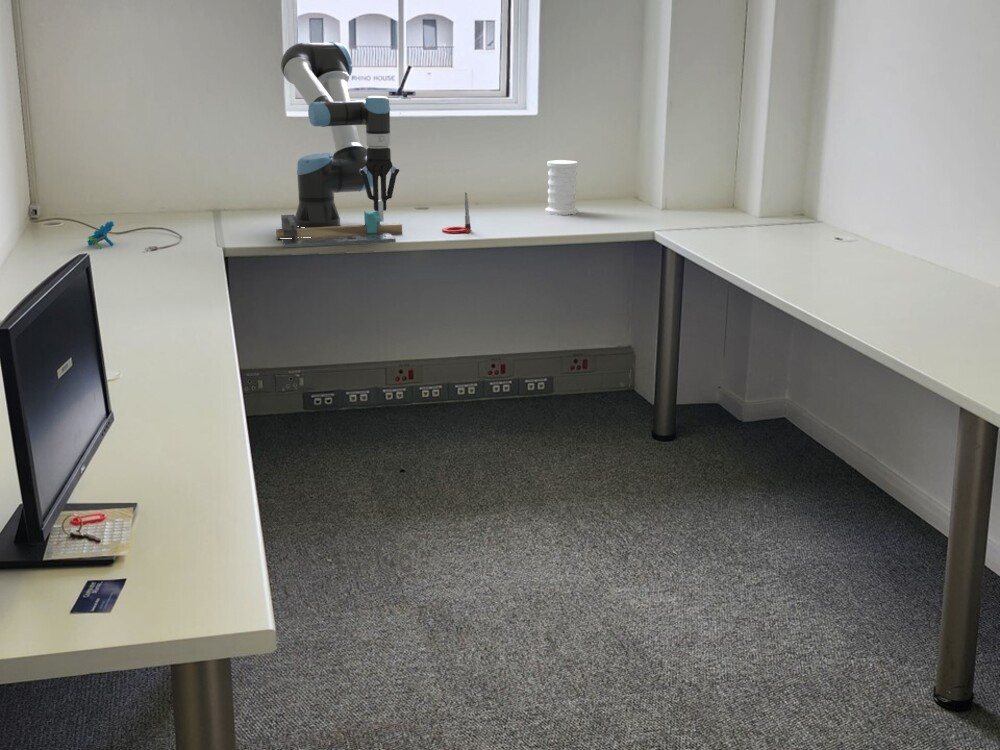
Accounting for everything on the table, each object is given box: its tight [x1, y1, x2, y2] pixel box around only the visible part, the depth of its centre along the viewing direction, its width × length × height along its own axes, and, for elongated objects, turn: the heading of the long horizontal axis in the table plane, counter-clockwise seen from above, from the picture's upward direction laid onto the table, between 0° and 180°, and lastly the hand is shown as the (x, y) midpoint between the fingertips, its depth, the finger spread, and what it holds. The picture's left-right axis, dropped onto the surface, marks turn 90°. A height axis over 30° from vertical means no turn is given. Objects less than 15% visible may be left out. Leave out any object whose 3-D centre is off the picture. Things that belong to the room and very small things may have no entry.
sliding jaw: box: [363, 210, 381, 235], centre depth 359 cm, size 12×4×6 cm, turn 17°
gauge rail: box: [275, 214, 403, 240], centre depth 356 cm, size 12×40×7 cm, turn 107°
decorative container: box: [544, 159, 579, 216], centre depth 403 cm, size 12×12×18 cm
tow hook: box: [441, 191, 472, 234], centre depth 368 cm, size 8×13×9 cm
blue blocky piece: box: [87, 220, 115, 250], centre depth 343 cm, size 11×6×10 cm
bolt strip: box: [281, 233, 397, 249], centre depth 351 cm, size 9×34×1 cm, turn 107°
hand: (380, 220), depth 363 cm, fingers closed
